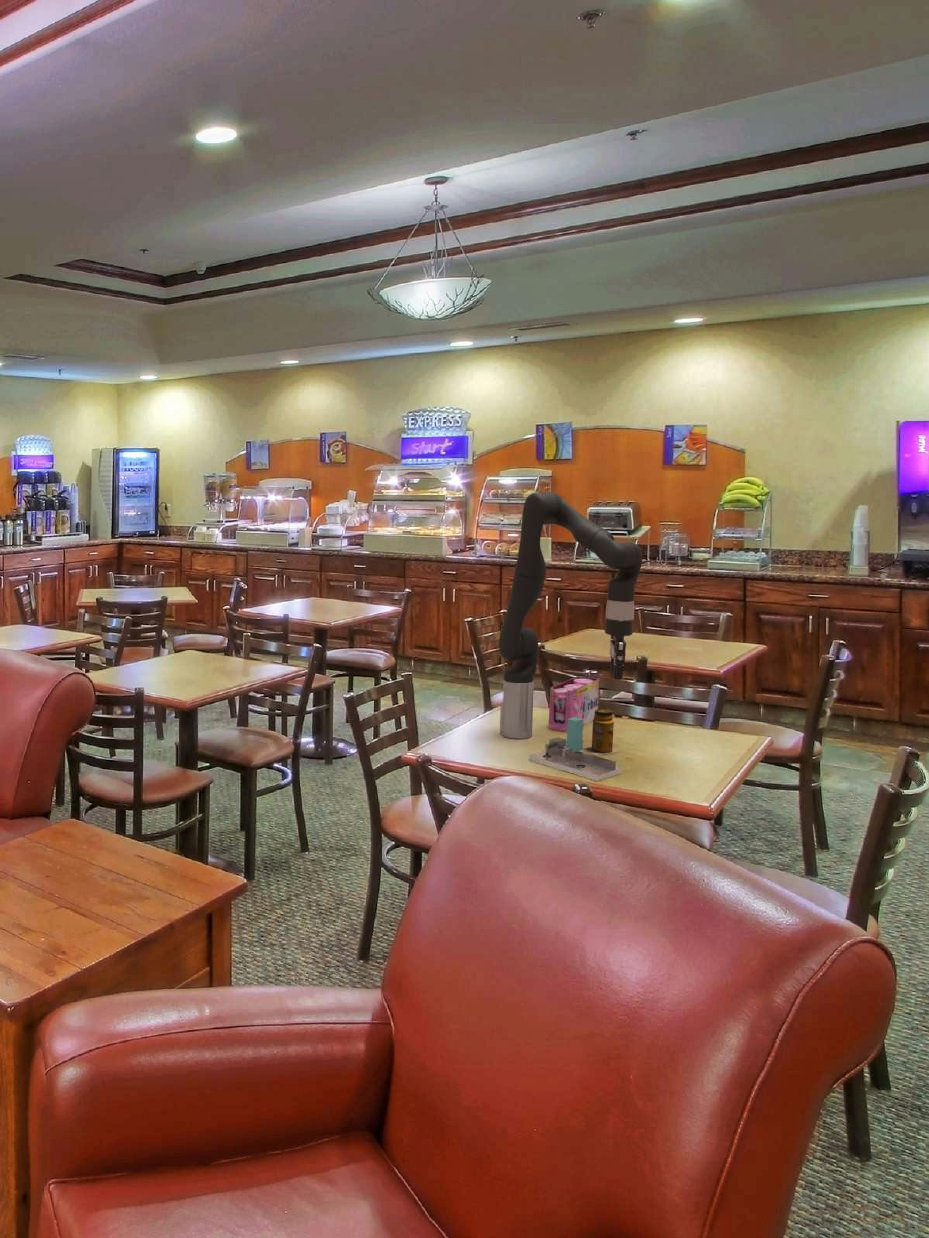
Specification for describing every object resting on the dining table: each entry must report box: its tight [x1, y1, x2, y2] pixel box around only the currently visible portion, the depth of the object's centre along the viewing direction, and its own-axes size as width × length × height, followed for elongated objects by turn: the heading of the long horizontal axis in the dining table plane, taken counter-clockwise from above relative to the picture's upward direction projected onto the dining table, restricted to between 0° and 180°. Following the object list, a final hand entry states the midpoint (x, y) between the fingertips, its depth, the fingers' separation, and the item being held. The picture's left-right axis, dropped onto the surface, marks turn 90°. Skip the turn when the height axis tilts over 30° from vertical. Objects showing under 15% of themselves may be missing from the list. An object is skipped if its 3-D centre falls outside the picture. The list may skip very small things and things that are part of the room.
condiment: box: [582, 708, 619, 757], centre depth 258 cm, size 7×8×12 cm
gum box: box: [548, 676, 600, 733], centre depth 288 cm, size 24×8×14 cm, turn 149°
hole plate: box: [528, 736, 622, 782], centre depth 242 cm, size 24×10×6 cm, turn 44°
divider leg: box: [562, 717, 584, 760], centre depth 244 cm, size 3×7×11 cm, turn 134°
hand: (616, 675), depth 241 cm, fingers open, 8 cm apart
